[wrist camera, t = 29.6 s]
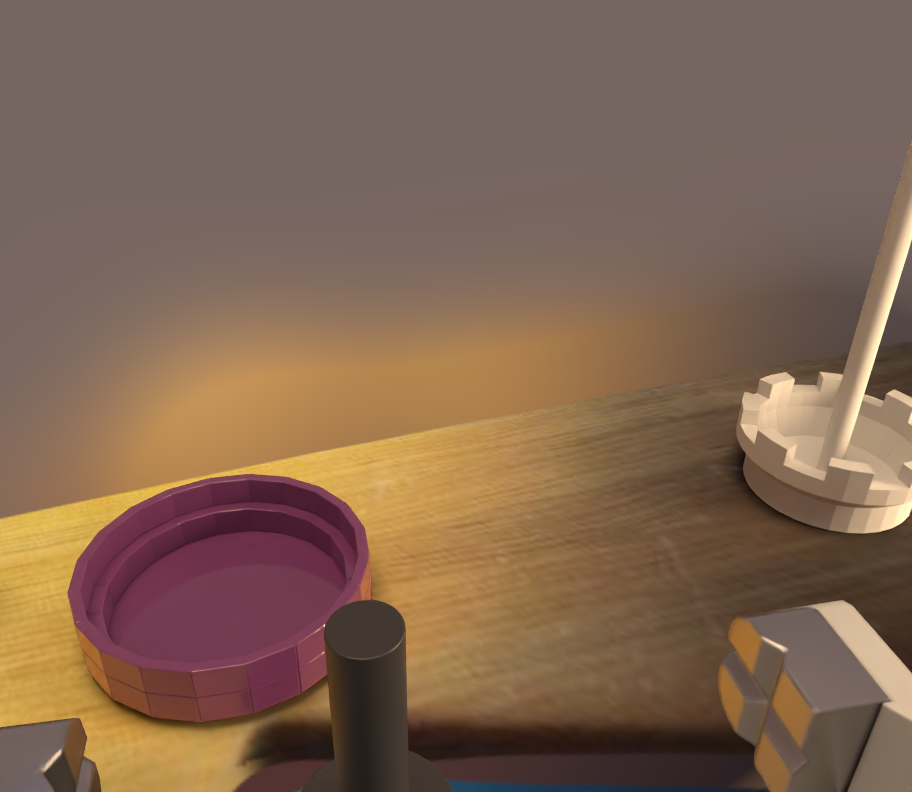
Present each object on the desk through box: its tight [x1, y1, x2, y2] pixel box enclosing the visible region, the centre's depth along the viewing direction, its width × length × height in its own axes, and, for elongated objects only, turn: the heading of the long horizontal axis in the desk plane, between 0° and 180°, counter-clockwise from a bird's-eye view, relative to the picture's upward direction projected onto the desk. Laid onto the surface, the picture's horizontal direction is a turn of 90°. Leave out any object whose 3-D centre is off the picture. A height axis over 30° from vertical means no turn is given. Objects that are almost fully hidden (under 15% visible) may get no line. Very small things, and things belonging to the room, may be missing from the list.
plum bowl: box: [68, 474, 372, 722], centre depth 44 cm, size 15×15×4 cm
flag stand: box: [736, 138, 912, 533], centre depth 49 cm, size 13×13×30 cm
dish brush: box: [301, 600, 453, 792], centre depth 30 cm, size 6×6×14 cm
